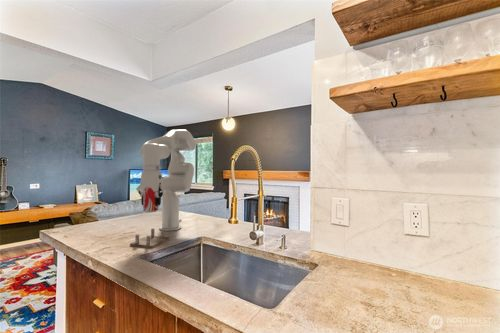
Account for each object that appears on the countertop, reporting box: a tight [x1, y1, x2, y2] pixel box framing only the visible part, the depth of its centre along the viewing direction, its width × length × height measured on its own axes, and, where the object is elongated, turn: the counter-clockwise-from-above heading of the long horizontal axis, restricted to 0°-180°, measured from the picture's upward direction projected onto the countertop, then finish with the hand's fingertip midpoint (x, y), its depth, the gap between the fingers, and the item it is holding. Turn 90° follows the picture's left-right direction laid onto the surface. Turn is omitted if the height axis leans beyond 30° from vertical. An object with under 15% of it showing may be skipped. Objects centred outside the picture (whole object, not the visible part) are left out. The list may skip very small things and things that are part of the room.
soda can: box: [142, 187, 160, 213], centre depth 121 cm, size 7×7×12 cm
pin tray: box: [129, 228, 170, 249], centre depth 121 cm, size 14×12×5 cm
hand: (151, 204), depth 121 cm, fingers closed on soda can, 7 cm apart
